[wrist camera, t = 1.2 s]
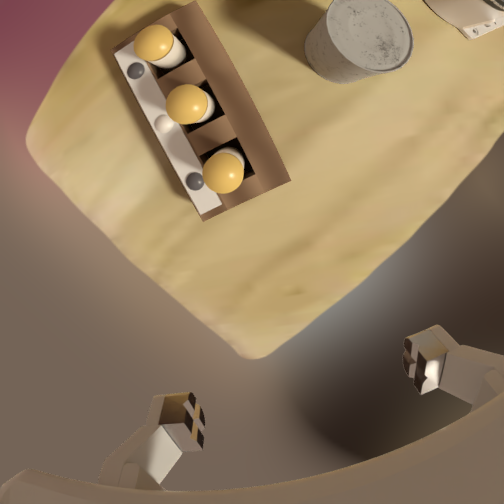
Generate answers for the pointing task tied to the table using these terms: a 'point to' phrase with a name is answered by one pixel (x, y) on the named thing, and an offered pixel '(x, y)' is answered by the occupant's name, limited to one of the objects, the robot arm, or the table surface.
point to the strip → (166, 128)
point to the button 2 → (224, 170)
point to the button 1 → (160, 47)
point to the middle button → (189, 105)
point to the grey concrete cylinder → (359, 40)
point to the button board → (231, 100)
